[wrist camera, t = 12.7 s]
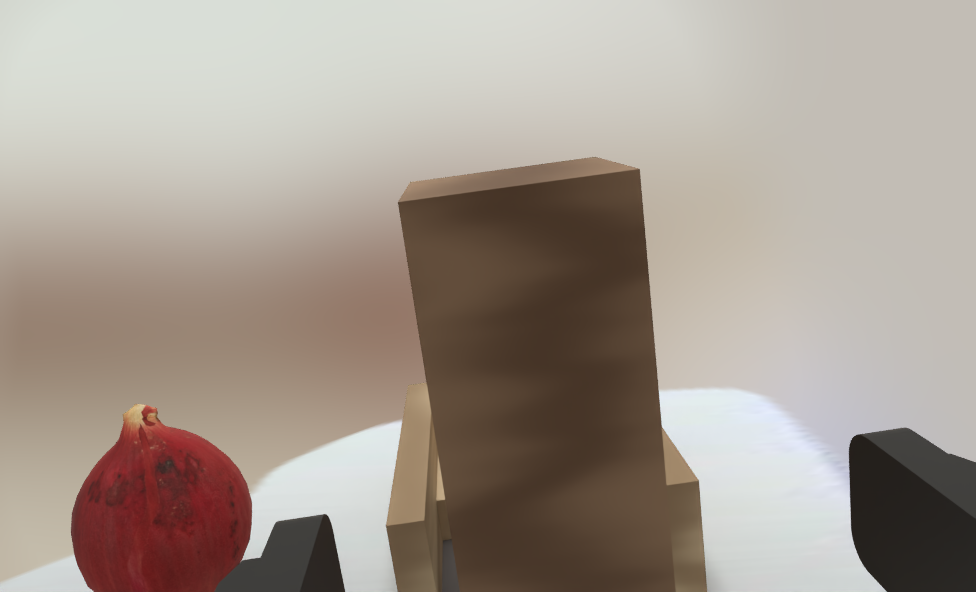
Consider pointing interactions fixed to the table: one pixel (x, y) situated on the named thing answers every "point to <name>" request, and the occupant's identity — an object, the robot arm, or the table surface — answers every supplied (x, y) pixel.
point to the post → (542, 376)
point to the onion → (160, 512)
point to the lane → (425, 524)
